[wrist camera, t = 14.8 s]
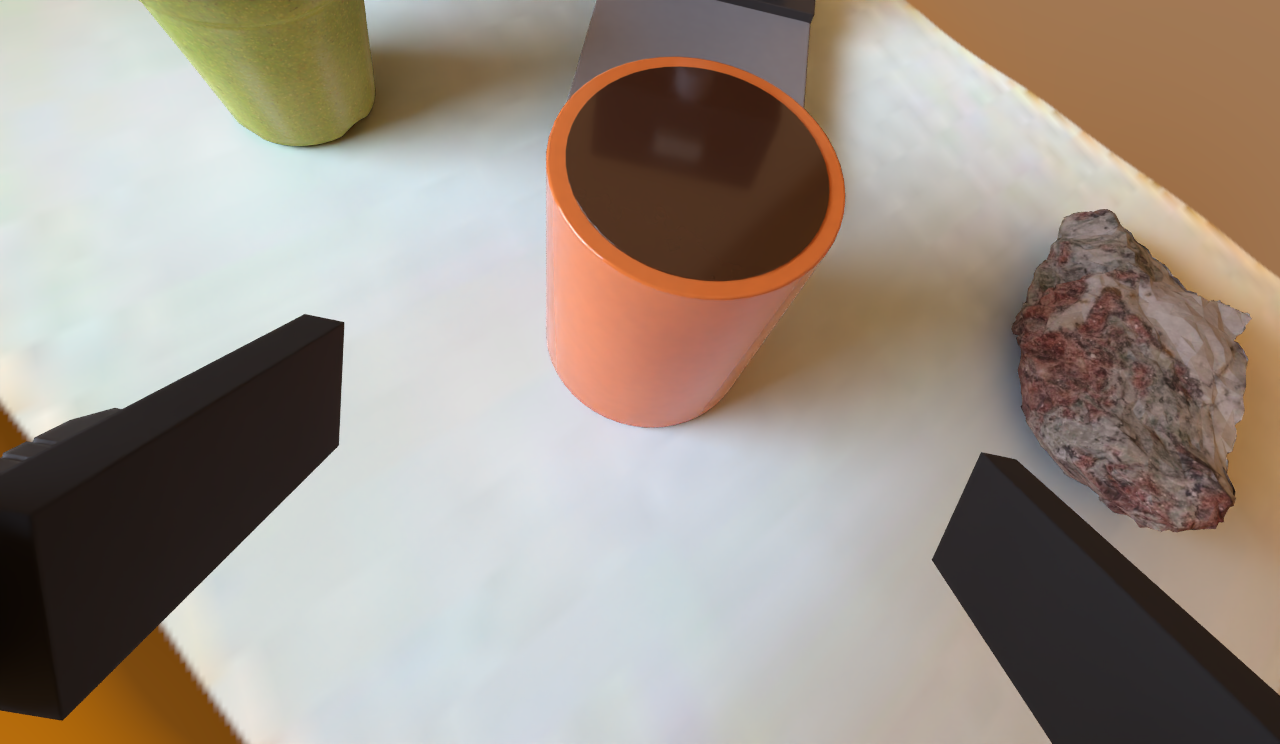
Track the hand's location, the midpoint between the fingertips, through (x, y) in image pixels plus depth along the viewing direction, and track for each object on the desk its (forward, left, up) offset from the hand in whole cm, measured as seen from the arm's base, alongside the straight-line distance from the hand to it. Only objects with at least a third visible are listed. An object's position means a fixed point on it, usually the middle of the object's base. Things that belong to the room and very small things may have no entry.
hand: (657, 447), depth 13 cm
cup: (-7, +3, -11) cm, 13 cm away
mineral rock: (-2, +22, -11) cm, 25 cm away
